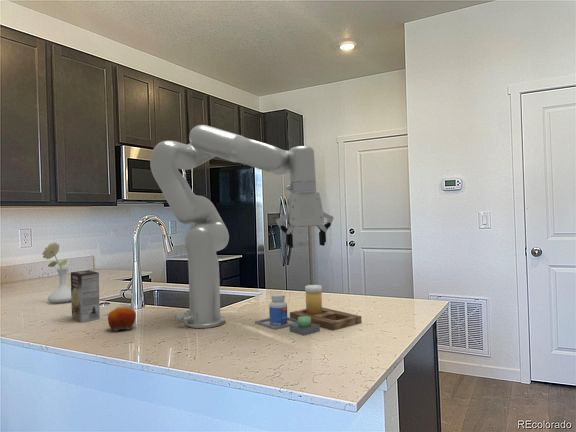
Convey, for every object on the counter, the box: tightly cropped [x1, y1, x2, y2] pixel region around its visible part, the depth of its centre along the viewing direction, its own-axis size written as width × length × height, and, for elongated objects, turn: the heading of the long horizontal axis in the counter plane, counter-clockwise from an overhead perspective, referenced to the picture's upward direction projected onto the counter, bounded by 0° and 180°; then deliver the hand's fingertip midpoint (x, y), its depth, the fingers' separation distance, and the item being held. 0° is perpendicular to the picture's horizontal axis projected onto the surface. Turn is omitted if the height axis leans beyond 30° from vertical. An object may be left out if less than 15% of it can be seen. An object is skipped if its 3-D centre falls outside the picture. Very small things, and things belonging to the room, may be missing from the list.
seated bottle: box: [304, 284, 323, 315], centre depth 134 cm, size 5×5×10 cm
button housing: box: [289, 322, 321, 336], centre depth 119 cm, size 6×6×3 cm
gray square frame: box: [254, 316, 298, 331], centre depth 129 cm, size 10×10×2 cm
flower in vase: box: [42, 242, 71, 303], centre depth 177 cm, size 13×11×25 cm
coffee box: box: [70, 270, 101, 323], centre depth 146 cm, size 9×6×16 cm
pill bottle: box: [268, 293, 288, 327], centre depth 129 cm, size 6×5×10 cm
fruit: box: [107, 306, 137, 332], centre depth 131 cm, size 8×8×8 cm
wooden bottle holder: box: [289, 306, 362, 331], centre depth 131 cm, size 12×19×3 cm, turn 39°
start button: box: [298, 316, 311, 326], centre depth 119 cm, size 4×4×2 cm
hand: (306, 246), depth 126 cm, fingers open, 9 cm apart
